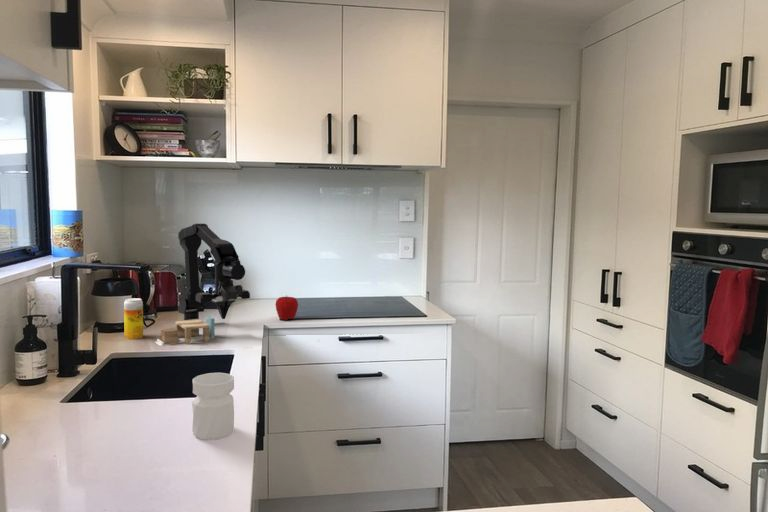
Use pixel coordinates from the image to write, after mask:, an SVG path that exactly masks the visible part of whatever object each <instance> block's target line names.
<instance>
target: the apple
mask: <svg viewBox="0 0 768 512" xmlns="http://www.w3.org/2000/svg"><path fill="white" fill-rule="evenodd" d="M298 307H299V302H298V299H296V297H293V296H288V295H285V296H281V297H278V298H277V299H276V300H275V311H276V313H277V315H278V318H279V319H280V320H282V319H283V320H282V321H289V320H288V319H291V320H292V319H294V318H295V317H296V315H297V313H298Z"/></svg>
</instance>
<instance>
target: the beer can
mask: <svg viewBox="0 0 768 512" xmlns="http://www.w3.org/2000/svg"><path fill="white" fill-rule="evenodd" d="M143 303H144V302H143V299H142V298H138V297H137V298H135V297H132V298H130V297H129V298H125V300H124V302H123V321H124V322H123V323H124V324H123V325H124V328H123V329H124V333H123V334H124V339H127V340H135V339H141V338H143V337H144V304H143Z"/></svg>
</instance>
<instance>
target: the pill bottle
mask: <svg viewBox="0 0 768 512" xmlns="http://www.w3.org/2000/svg"><path fill="white" fill-rule="evenodd" d="M191 382H192V394H193V395H195V396H196V397H195V398H193V400H192V401H191V403H192V434H193V436H194V437H195V439H199V440H200V439H201V440H203V441H204V440H205V441H208V440H209V441H211V440H213V441H214V440H220V439H223V438H226V437H228V436H230V435H231V434H233V433H234V430H235V410H234V409H235V403H234V401H235V400H234V396H233V395H232V394H231V393H232V392H233V391H234V389H235V376H234V375H231V374H230V373H226V372H209V373H204V374H200V375H196V376H195V377H193V378H192V381H191Z"/></svg>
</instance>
